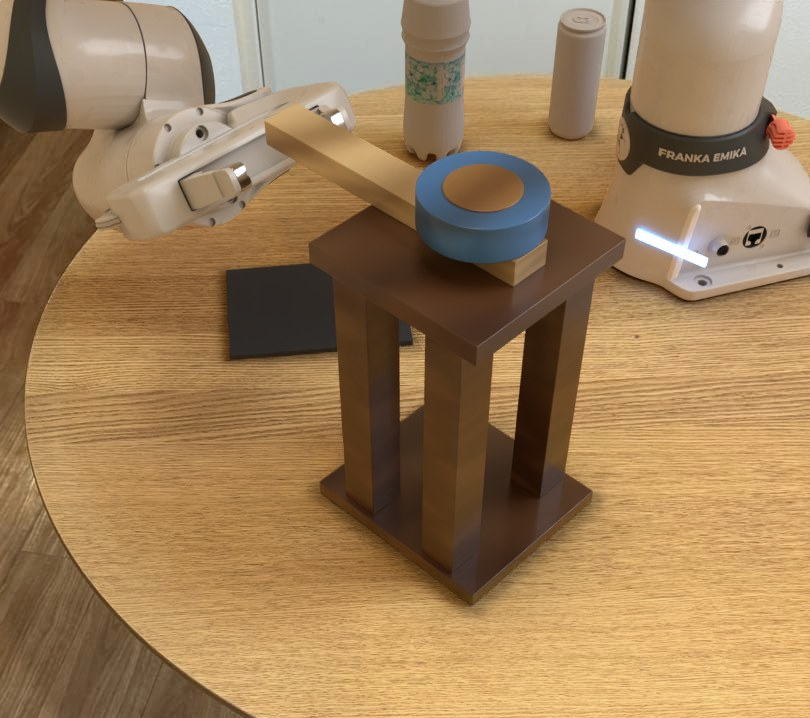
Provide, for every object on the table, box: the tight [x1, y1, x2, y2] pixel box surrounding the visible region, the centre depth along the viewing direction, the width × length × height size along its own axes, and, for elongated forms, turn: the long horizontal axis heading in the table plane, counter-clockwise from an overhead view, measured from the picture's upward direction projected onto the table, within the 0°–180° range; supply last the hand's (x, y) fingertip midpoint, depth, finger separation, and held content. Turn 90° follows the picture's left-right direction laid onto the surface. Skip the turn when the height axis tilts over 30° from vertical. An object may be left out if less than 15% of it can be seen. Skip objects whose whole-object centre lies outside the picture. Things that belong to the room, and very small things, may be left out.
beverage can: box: [547, 7, 607, 140], centre depth 118 cm, size 5×5×12 cm
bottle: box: [400, 0, 472, 161], centre depth 113 cm, size 7×7×20 cm
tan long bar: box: [264, 104, 552, 287], centre depth 73 cm, size 22×8×4 cm, turn 46°
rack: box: [307, 151, 626, 607], centre depth 81 cm, size 16×14×24 cm
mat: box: [225, 262, 414, 361], centre depth 104 cm, size 16×12×1 cm
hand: (292, 149), depth 79 cm, fingers open, 8 cm apart
